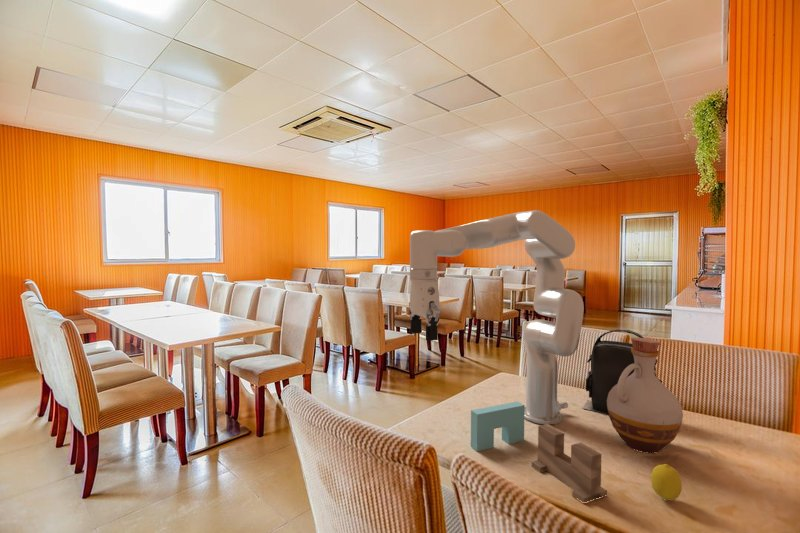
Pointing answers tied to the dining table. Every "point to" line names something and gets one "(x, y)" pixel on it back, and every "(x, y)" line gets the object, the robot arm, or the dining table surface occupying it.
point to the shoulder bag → (607, 369)
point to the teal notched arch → (497, 424)
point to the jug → (644, 403)
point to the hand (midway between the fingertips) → (423, 336)
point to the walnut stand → (570, 464)
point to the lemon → (666, 482)
